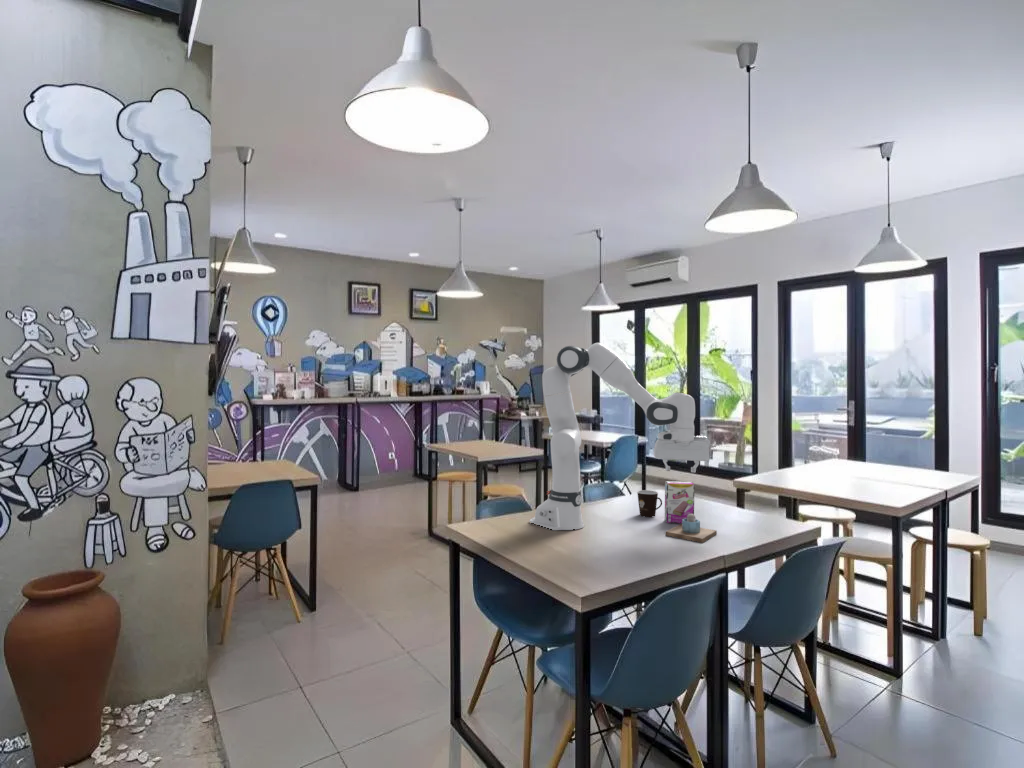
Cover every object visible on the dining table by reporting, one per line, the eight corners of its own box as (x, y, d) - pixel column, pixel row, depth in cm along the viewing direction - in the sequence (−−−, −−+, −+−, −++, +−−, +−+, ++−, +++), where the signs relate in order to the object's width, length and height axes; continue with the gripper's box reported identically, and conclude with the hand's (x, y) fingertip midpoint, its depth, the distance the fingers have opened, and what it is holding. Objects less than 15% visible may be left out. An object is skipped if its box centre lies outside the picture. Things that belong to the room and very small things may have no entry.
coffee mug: (634, 513, 235) (634, 490, 235) (653, 512, 236) (653, 490, 236) (643, 519, 223) (643, 495, 223) (663, 519, 224) (663, 495, 224)
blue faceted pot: (684, 532, 199) (684, 522, 199) (681, 528, 205) (681, 518, 205) (701, 533, 198) (701, 522, 198) (697, 529, 204) (697, 518, 204)
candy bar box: (666, 523, 218) (666, 483, 218) (664, 520, 223) (664, 480, 223) (694, 524, 217) (694, 483, 217) (691, 521, 222) (692, 481, 222)
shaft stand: (665, 535, 201) (665, 514, 200) (680, 527, 211) (680, 507, 211) (702, 542, 191) (702, 520, 191) (716, 534, 202) (716, 513, 202)
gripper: (708, 435, 206) (706, 471, 206) (653, 433, 209) (652, 468, 209) (712, 437, 200) (710, 474, 200) (656, 434, 203) (654, 471, 203)
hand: (680, 471), depth 205 cm, fingers open, 8 cm apart
